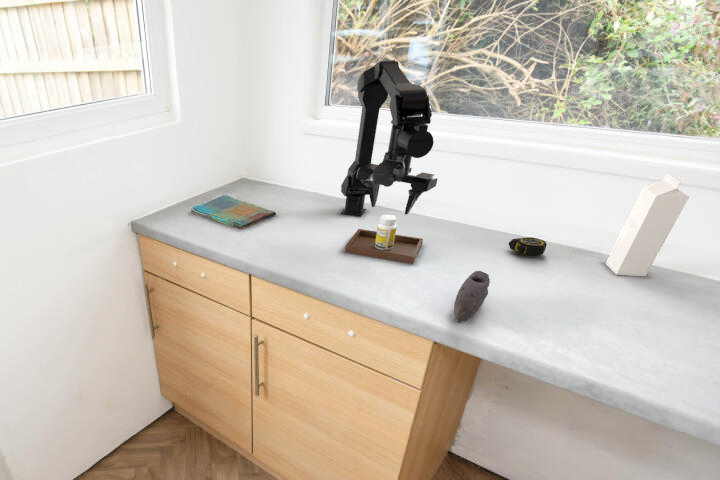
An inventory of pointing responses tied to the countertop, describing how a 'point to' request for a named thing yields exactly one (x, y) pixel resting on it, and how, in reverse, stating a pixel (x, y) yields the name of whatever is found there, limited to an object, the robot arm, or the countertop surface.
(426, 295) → the countertop surface
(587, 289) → the countertop surface
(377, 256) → the tray
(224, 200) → the dish towel
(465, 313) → the perforated stone tool
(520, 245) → the tape measure
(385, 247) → the supplement bottle
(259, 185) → the countertop surface
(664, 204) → the milk
